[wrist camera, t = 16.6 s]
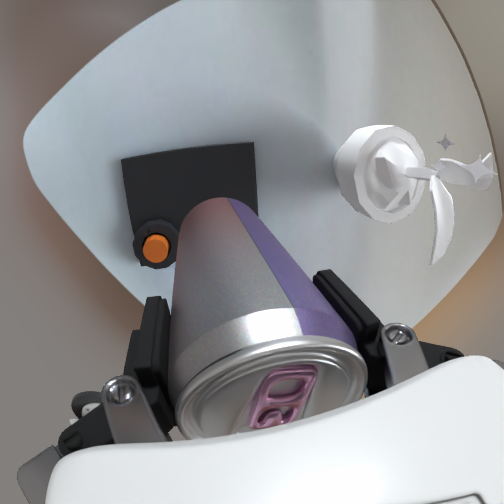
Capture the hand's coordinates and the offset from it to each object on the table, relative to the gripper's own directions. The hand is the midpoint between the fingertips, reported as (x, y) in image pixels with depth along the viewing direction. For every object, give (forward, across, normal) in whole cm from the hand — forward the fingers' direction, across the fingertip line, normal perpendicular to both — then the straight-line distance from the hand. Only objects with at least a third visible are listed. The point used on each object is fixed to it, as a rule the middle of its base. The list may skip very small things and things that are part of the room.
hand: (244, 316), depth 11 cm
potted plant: (+25, -20, -2) cm, 32 cm away
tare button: (+22, +7, +5) cm, 24 cm away
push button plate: (+25, +2, +1) cm, 25 cm away
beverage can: (+10, 0, 0) cm, 10 cm away
